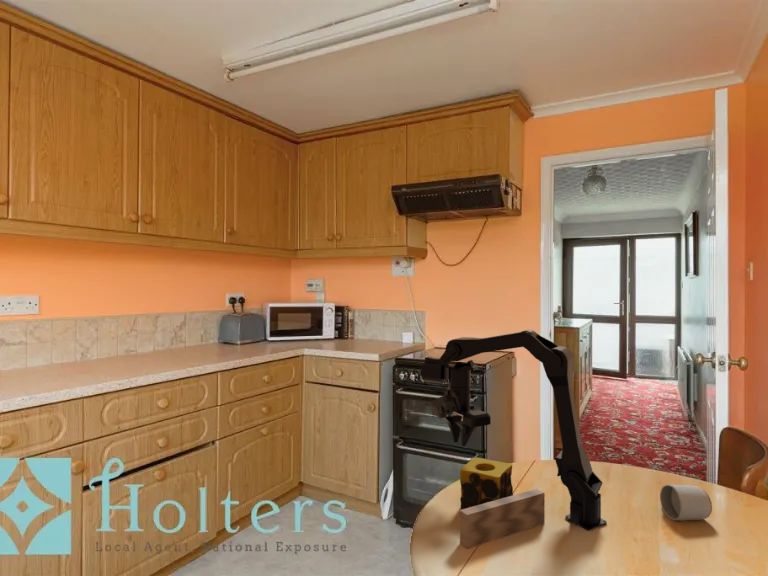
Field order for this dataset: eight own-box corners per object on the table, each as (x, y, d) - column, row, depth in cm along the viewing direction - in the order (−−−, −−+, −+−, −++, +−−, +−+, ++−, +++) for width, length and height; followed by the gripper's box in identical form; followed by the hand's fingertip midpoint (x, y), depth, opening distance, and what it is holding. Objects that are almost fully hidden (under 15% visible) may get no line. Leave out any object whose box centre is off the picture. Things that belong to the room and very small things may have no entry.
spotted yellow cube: (513, 503, 118) (513, 463, 118) (500, 520, 110) (500, 477, 110) (475, 494, 124) (475, 455, 124) (459, 509, 115) (459, 468, 115)
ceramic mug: (715, 525, 107) (714, 490, 107) (681, 526, 107) (680, 492, 107) (681, 504, 118) (681, 473, 118) (650, 505, 117) (650, 474, 117)
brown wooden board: (536, 518, 110) (536, 488, 110) (544, 523, 108) (544, 492, 108) (459, 543, 100) (459, 510, 100) (467, 548, 98) (466, 515, 98)
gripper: (415, 382, 131) (415, 438, 131) (456, 396, 114) (456, 461, 114) (448, 378, 136) (448, 432, 136) (492, 391, 119) (492, 453, 119)
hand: (459, 444), depth 126 cm, fingers open, 3 cm apart
